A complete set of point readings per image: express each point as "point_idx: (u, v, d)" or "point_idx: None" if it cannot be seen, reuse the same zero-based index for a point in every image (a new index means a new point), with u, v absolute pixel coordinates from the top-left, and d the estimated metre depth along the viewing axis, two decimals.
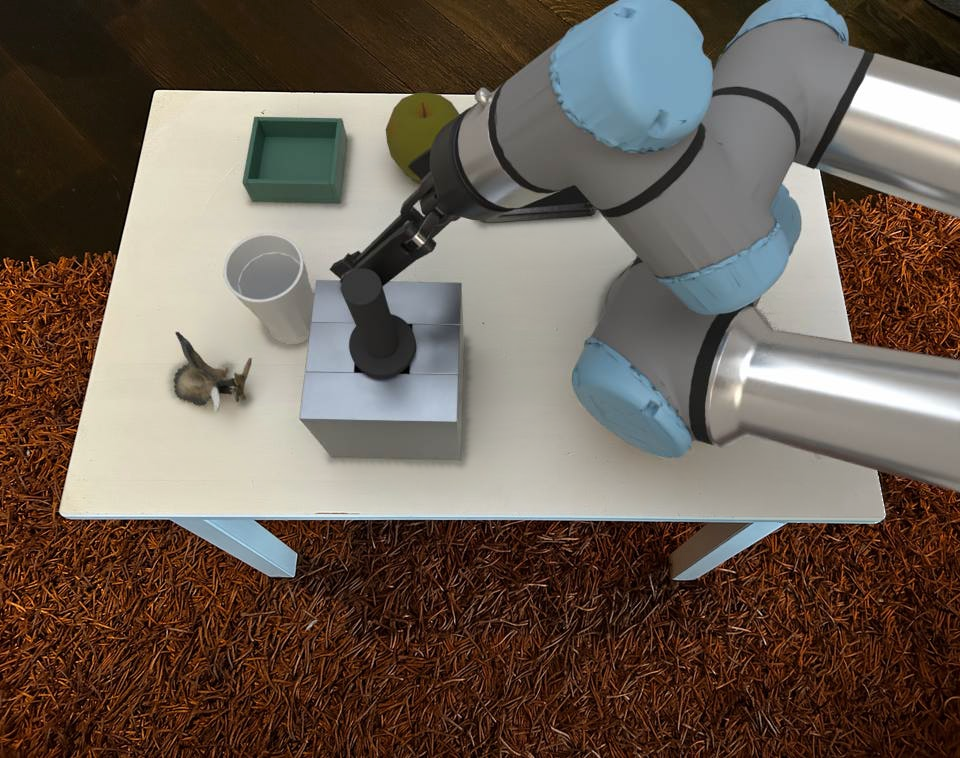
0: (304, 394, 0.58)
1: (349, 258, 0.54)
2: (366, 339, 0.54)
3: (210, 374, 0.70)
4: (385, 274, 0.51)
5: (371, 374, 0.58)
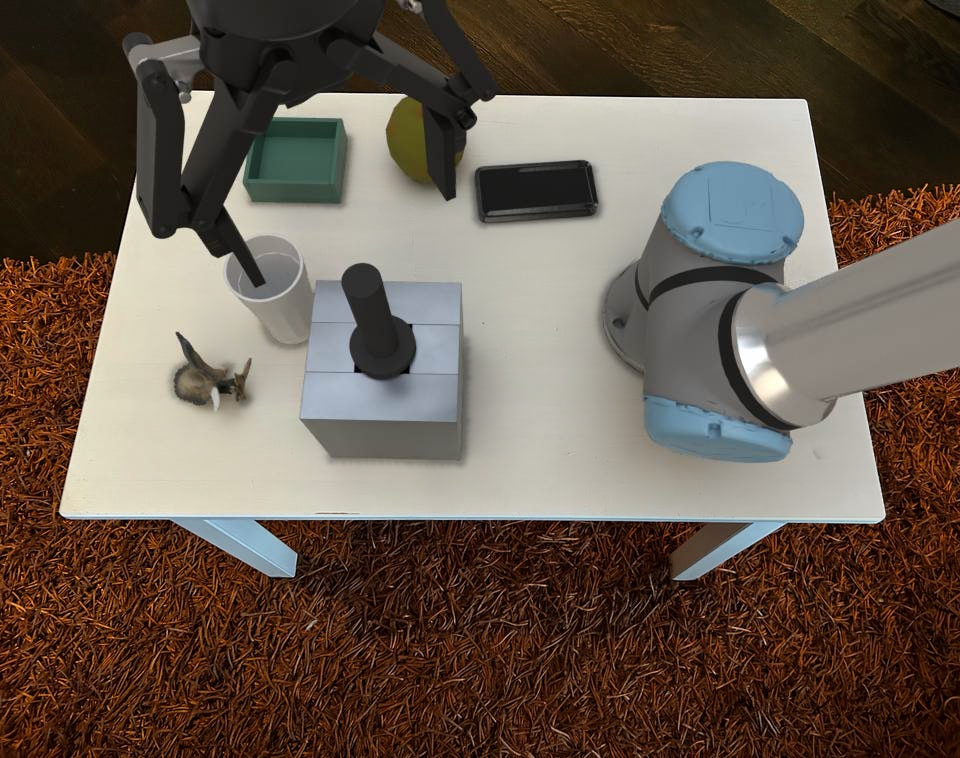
0: (304, 394, 0.58)
1: None
2: (366, 337, 0.55)
3: (210, 374, 0.70)
4: (149, 166, 0.30)
5: (371, 374, 0.58)
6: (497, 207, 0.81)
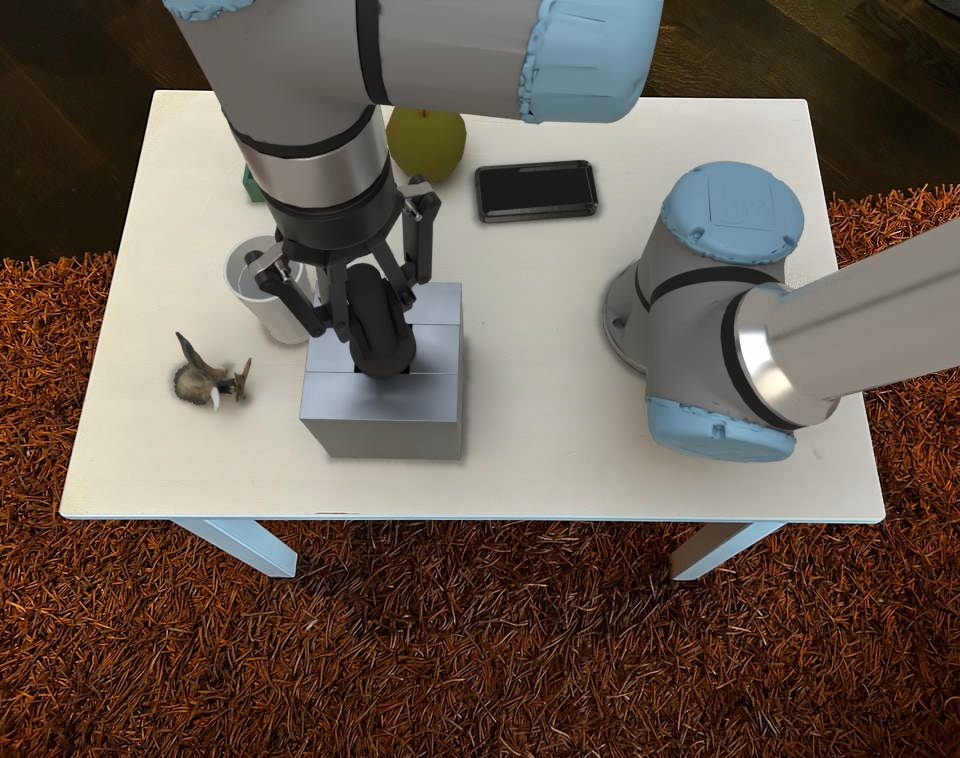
0: (304, 394, 0.58)
1: None
2: (366, 337, 0.55)
3: (210, 374, 0.70)
4: None
5: (371, 374, 0.58)
6: (497, 207, 0.81)
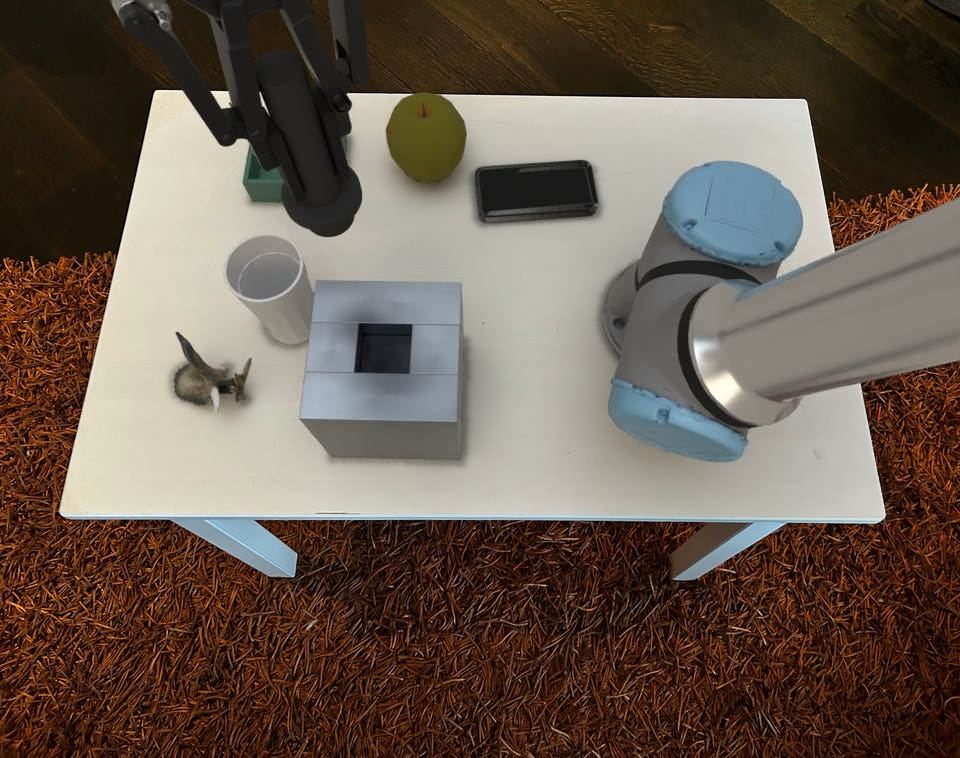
0: (304, 394, 0.58)
1: None
2: (296, 167, 0.45)
3: (210, 374, 0.70)
4: None
5: (307, 225, 0.49)
6: (497, 207, 0.81)
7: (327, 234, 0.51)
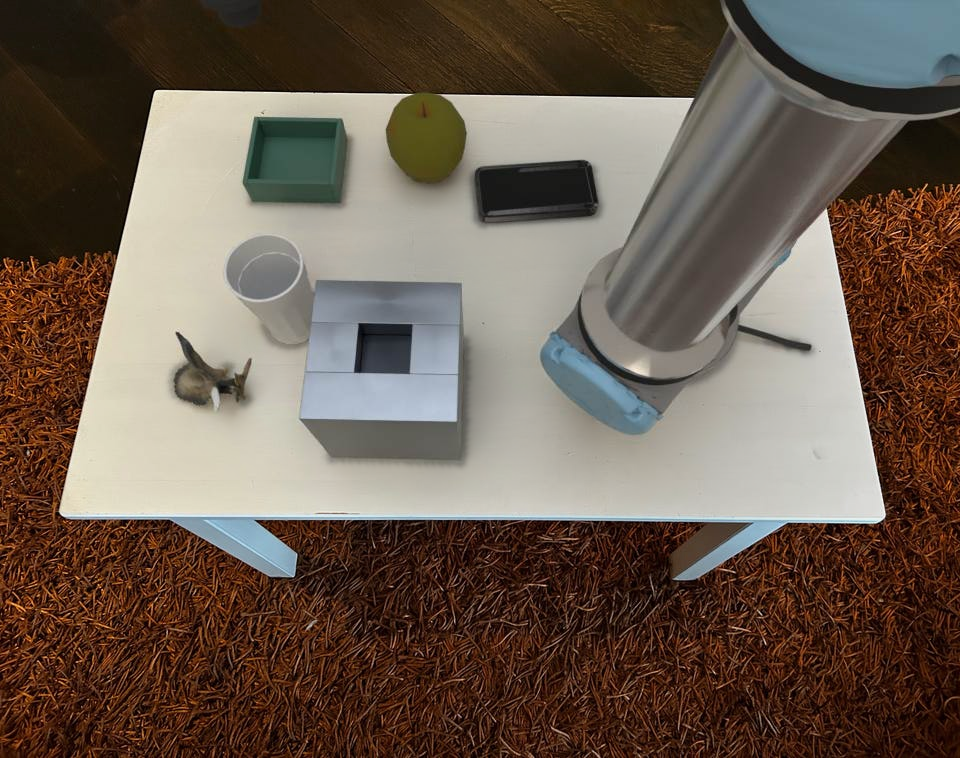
0: (304, 394, 0.58)
1: None
2: None
3: (210, 374, 0.70)
4: None
5: (215, 5, 0.57)
6: (497, 207, 0.81)
7: (236, 23, 0.60)
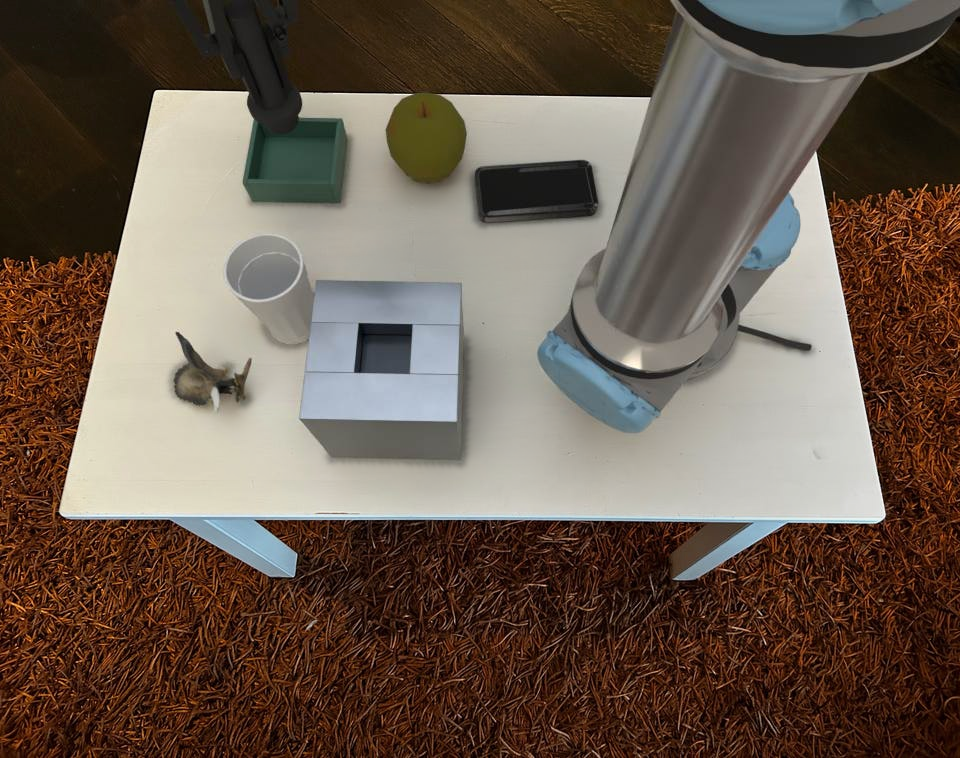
0: (304, 394, 0.58)
1: None
2: (254, 78, 0.69)
3: (210, 374, 0.70)
4: None
5: (263, 121, 0.72)
6: (497, 207, 0.81)
7: (279, 131, 0.75)
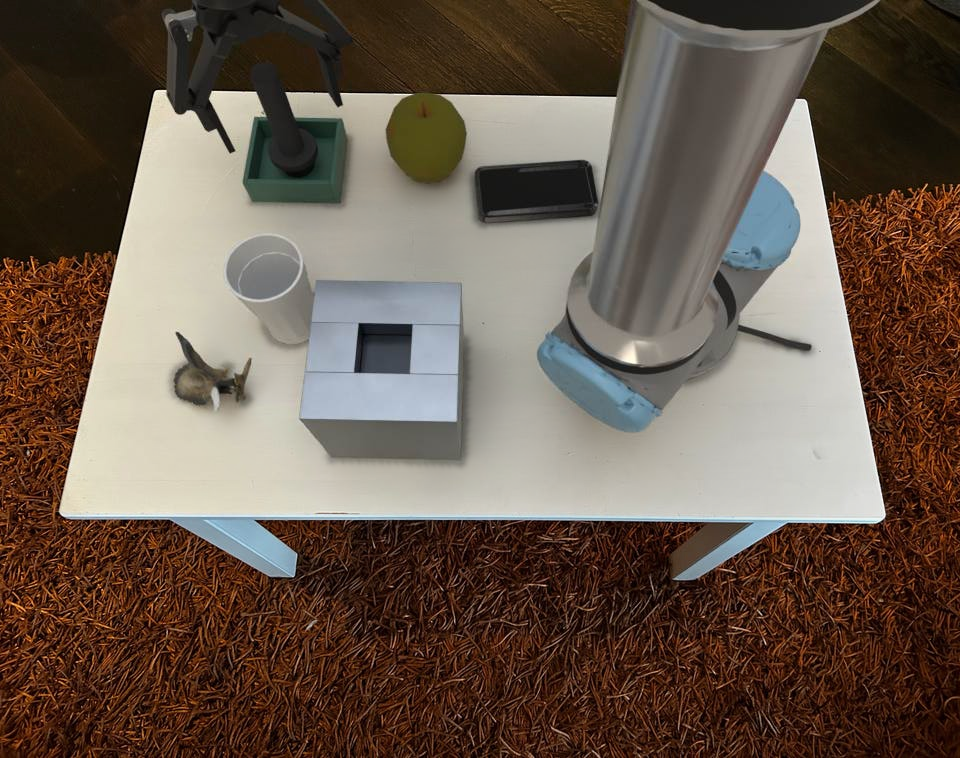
0: (304, 394, 0.58)
1: None
2: (275, 130, 0.76)
3: (210, 374, 0.70)
4: (173, 73, 0.64)
5: (283, 167, 0.80)
6: (497, 207, 0.81)
7: (296, 175, 0.82)
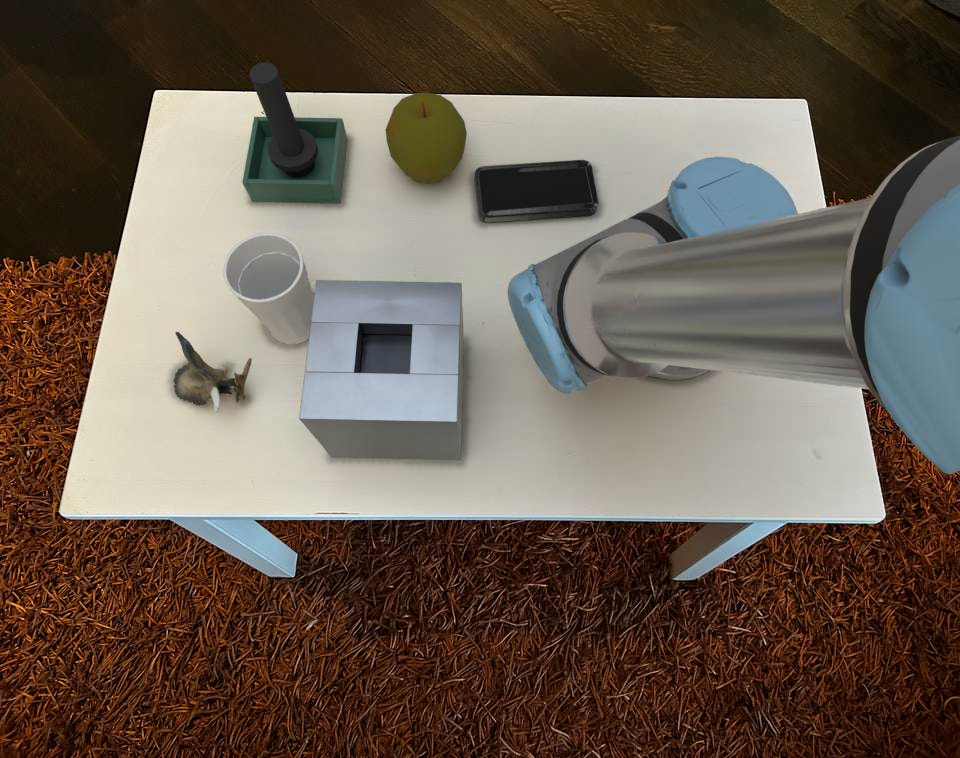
0: (304, 394, 0.58)
1: None
2: (275, 130, 0.76)
3: (210, 374, 0.70)
4: None
5: (283, 167, 0.80)
6: (497, 207, 0.81)
7: (296, 175, 0.82)
